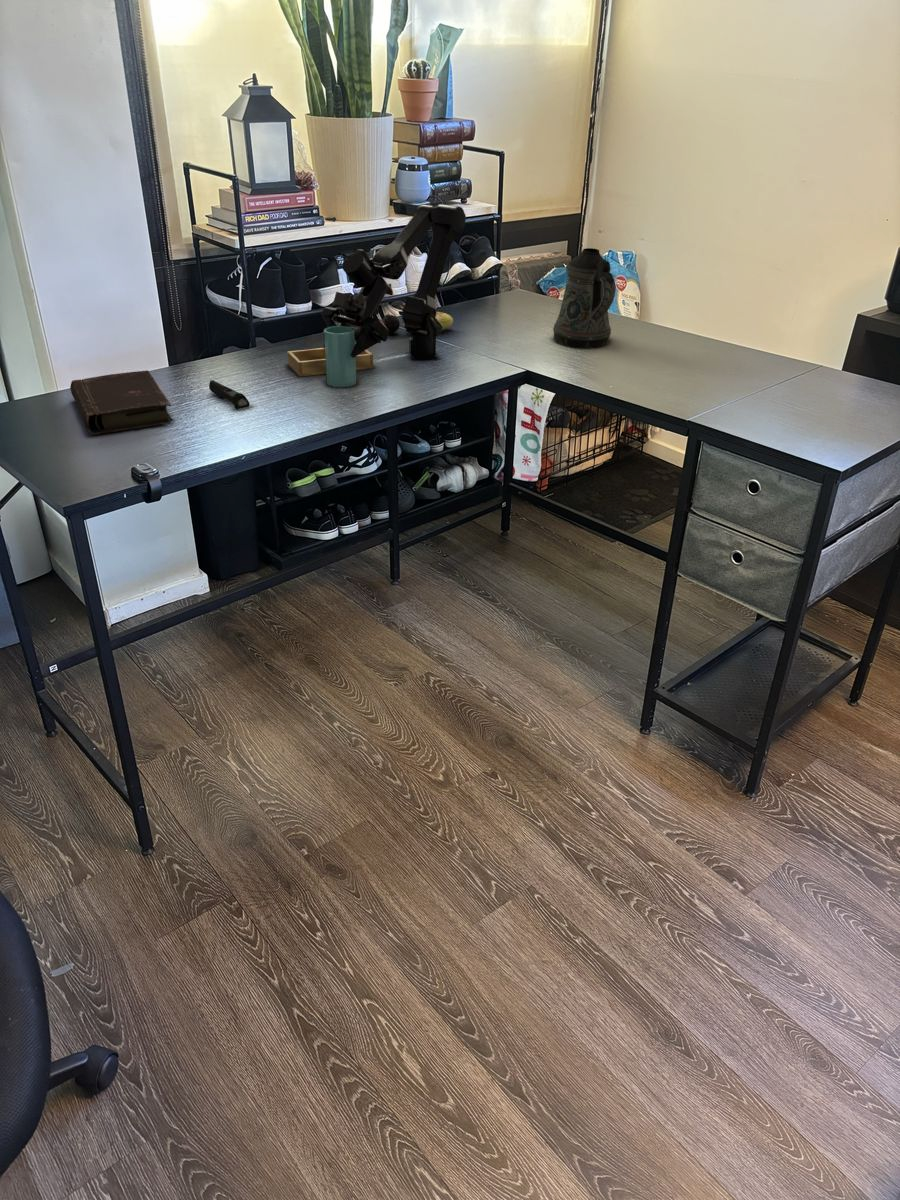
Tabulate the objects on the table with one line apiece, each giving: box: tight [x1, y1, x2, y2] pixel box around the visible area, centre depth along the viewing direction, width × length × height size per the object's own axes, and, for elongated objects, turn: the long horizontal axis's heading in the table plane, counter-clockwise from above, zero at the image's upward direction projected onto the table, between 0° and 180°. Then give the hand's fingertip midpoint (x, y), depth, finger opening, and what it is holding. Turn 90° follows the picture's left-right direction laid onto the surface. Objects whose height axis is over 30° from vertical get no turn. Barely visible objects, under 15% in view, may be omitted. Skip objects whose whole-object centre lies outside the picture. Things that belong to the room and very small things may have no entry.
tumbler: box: [323, 325, 357, 388], centre depth 217 cm, size 7×7×13 cm
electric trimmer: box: [208, 379, 251, 410], centre depth 207 cm, size 4×16×3 cm, turn 39°
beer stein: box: [552, 247, 617, 349], centre depth 249 cm, size 16×19×25 cm
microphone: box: [354, 313, 401, 340], centre depth 255 cm, size 6×6×20 cm
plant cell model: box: [403, 311, 454, 331], centre depth 260 cm, size 11×8×15 cm
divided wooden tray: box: [287, 347, 374, 377], centre depth 230 cm, size 20×10×4 cm, turn 114°
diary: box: [69, 369, 174, 436], centre depth 198 cm, size 19×25×5 cm
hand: (338, 353), depth 216 cm, fingers open, 9 cm apart
